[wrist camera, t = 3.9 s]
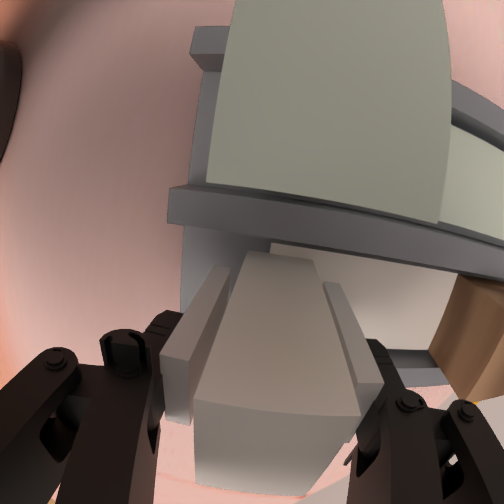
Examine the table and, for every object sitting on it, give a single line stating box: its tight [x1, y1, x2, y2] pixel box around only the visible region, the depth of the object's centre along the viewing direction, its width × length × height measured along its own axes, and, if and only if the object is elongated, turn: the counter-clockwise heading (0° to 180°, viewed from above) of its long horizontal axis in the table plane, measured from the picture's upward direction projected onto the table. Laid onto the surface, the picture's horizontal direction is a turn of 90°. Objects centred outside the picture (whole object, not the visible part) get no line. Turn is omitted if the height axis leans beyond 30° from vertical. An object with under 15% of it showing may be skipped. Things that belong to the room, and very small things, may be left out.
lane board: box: [167, 26, 504, 387], centre depth 12 cm, size 24×16×4 cm
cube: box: [428, 274, 504, 402], centre depth 10 cm, size 5×5×5 cm
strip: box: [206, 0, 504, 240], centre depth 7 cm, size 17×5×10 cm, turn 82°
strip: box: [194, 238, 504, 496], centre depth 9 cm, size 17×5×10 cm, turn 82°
